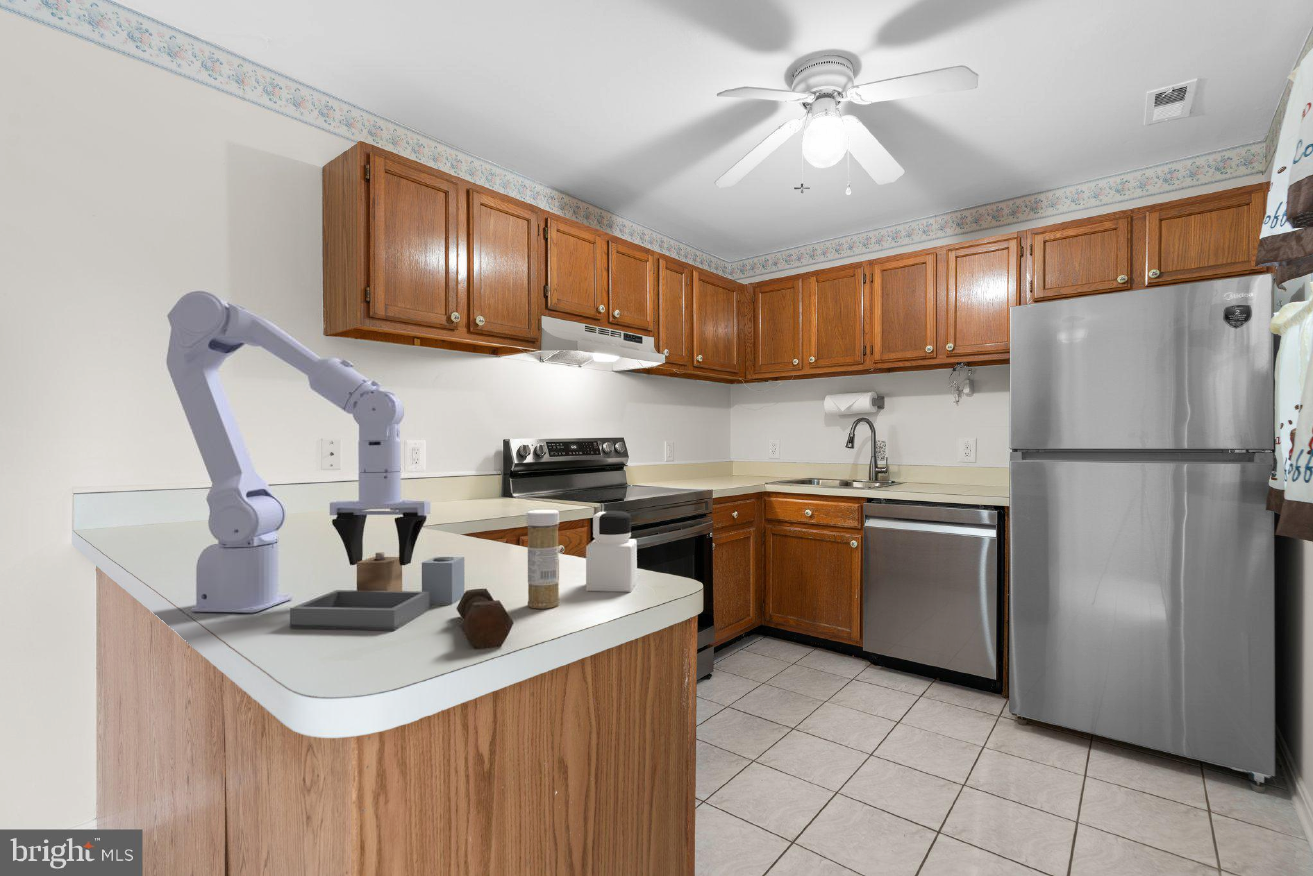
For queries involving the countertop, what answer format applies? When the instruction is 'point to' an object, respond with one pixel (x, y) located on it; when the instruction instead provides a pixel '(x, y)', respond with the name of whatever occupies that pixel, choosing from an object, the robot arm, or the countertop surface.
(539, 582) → the sprinkles bottle
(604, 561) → the medicine bottle
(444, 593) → the oversize block
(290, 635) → the countertop surface
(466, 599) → the bolt
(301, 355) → the robot arm
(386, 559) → the block
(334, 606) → the tray
